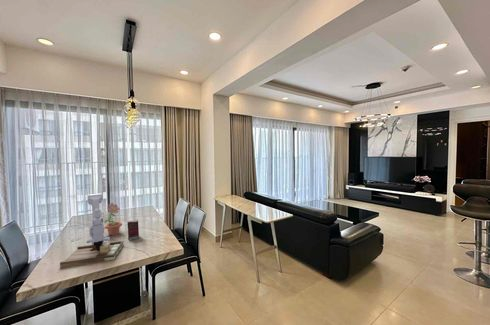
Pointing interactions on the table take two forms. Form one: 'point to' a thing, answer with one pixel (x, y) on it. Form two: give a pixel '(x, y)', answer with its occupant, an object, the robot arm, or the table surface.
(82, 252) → the trap box
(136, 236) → the supplement box
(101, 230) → the robot arm
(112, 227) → the decorative flower
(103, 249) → the block
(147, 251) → the table surface
